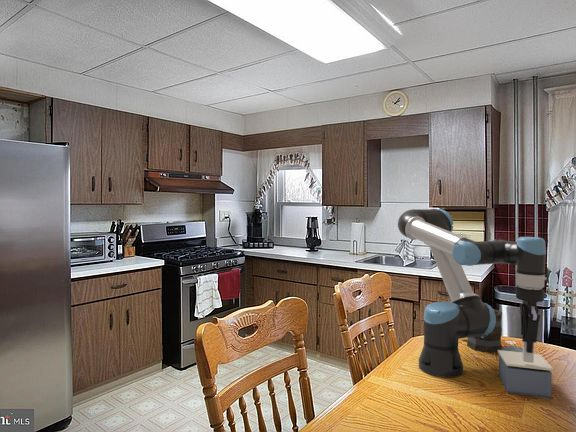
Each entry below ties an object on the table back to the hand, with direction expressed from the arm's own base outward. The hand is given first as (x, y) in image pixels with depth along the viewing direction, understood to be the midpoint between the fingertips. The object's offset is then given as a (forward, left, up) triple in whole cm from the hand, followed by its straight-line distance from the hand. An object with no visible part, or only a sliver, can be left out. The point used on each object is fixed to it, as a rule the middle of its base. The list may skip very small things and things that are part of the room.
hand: (527, 361), depth 123 cm
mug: (-9, +42, -11) cm, 44 cm away
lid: (0, +6, -2) cm, 6 cm away
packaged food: (+4, +28, -11) cm, 31 cm away
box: (0, +6, -11) cm, 12 cm away
